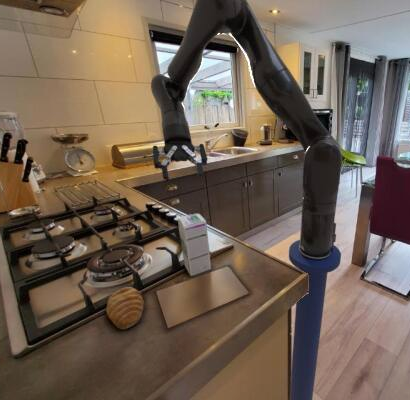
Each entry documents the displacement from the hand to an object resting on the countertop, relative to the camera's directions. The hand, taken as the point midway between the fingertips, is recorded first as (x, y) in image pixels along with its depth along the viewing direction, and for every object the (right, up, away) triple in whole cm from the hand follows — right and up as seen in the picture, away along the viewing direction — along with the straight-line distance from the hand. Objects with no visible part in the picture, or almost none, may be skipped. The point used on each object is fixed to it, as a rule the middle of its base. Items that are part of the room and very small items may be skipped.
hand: (184, 178), depth 69 cm
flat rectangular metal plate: (+8, -28, -11) cm, 31 cm away
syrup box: (+4, -24, -2) cm, 25 cm away
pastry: (-6, -30, -16) cm, 34 cm away
